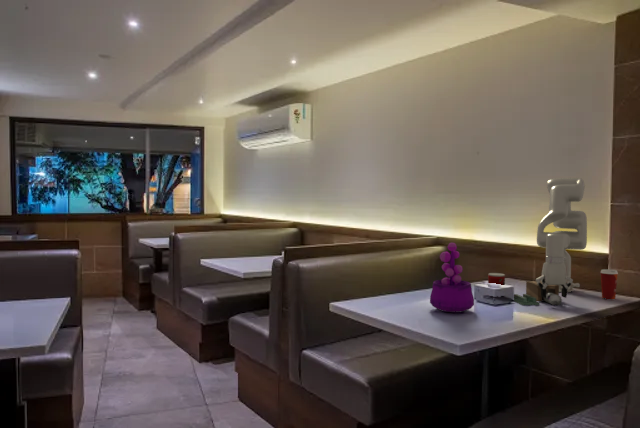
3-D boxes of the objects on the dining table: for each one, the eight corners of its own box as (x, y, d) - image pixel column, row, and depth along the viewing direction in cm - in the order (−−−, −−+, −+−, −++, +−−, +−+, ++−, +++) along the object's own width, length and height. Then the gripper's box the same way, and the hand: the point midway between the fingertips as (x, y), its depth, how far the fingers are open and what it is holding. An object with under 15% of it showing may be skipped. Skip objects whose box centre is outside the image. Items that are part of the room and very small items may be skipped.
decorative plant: (443, 317, 207) (443, 245, 206) (422, 307, 224) (422, 241, 223) (482, 314, 212) (483, 243, 211) (459, 305, 229) (460, 240, 228)
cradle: (526, 299, 242) (527, 293, 242) (539, 305, 230) (539, 298, 230) (510, 299, 241) (510, 293, 241) (522, 305, 229) (522, 298, 229)
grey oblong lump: (536, 299, 244) (534, 290, 244) (545, 298, 244) (544, 288, 244) (552, 306, 229) (550, 296, 229) (562, 304, 229) (560, 294, 229)
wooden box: (545, 296, 249) (545, 281, 249) (558, 301, 237) (558, 285, 237) (526, 296, 249) (526, 281, 248) (537, 301, 237) (538, 285, 237)
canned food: (501, 298, 245) (502, 275, 245) (485, 296, 250) (486, 274, 250) (506, 295, 252) (507, 273, 251) (490, 293, 256) (491, 272, 256)
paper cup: (621, 300, 240) (621, 271, 240) (605, 300, 240) (605, 271, 240) (611, 297, 248) (612, 269, 247) (596, 297, 248) (596, 269, 248)
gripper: (568, 259, 235) (567, 295, 236) (532, 259, 234) (531, 295, 235) (577, 261, 228) (576, 298, 228) (540, 261, 227) (539, 298, 227)
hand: (553, 297), depth 232 cm, fingers open, 9 cm apart
